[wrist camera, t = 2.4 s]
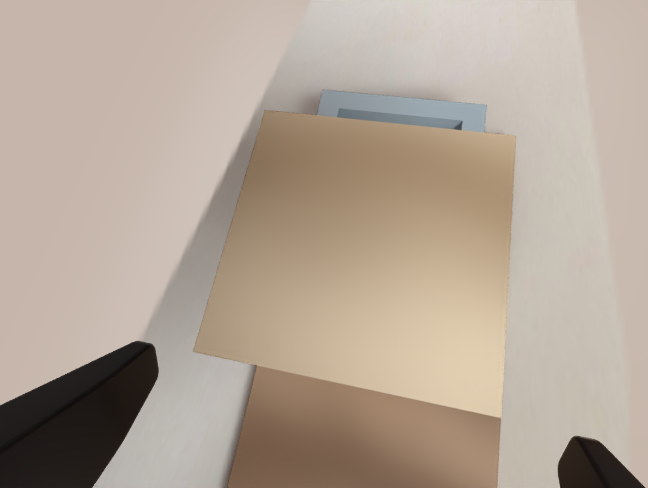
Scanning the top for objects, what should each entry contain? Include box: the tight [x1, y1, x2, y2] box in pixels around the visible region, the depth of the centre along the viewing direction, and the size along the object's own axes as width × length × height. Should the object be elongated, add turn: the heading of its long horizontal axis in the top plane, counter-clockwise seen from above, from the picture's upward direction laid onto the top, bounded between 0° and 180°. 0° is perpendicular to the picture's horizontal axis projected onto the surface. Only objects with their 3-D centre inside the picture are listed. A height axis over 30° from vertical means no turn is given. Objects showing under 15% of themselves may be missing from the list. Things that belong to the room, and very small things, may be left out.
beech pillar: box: [193, 110, 516, 418], centre depth 12 cm, size 4×4×12 cm
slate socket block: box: [317, 90, 487, 133], centre depth 18 cm, size 8×8×2 cm
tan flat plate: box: [227, 366, 501, 488], centre depth 18 cm, size 22×10×1 cm, turn 169°
